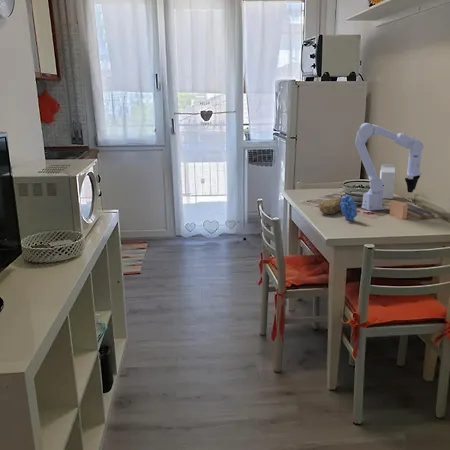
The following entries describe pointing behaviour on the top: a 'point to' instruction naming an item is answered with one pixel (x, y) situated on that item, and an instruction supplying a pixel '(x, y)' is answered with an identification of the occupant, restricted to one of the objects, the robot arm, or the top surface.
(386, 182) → the milk carton
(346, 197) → the grapes
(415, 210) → the track base
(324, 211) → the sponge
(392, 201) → the peach block
